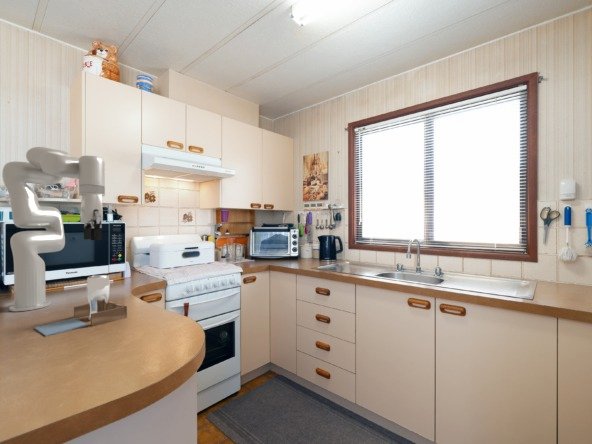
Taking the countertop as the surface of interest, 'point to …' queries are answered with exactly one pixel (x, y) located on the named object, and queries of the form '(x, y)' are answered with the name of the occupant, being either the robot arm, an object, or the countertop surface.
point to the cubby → (102, 313)
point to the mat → (60, 326)
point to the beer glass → (98, 293)
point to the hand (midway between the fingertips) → (92, 239)
